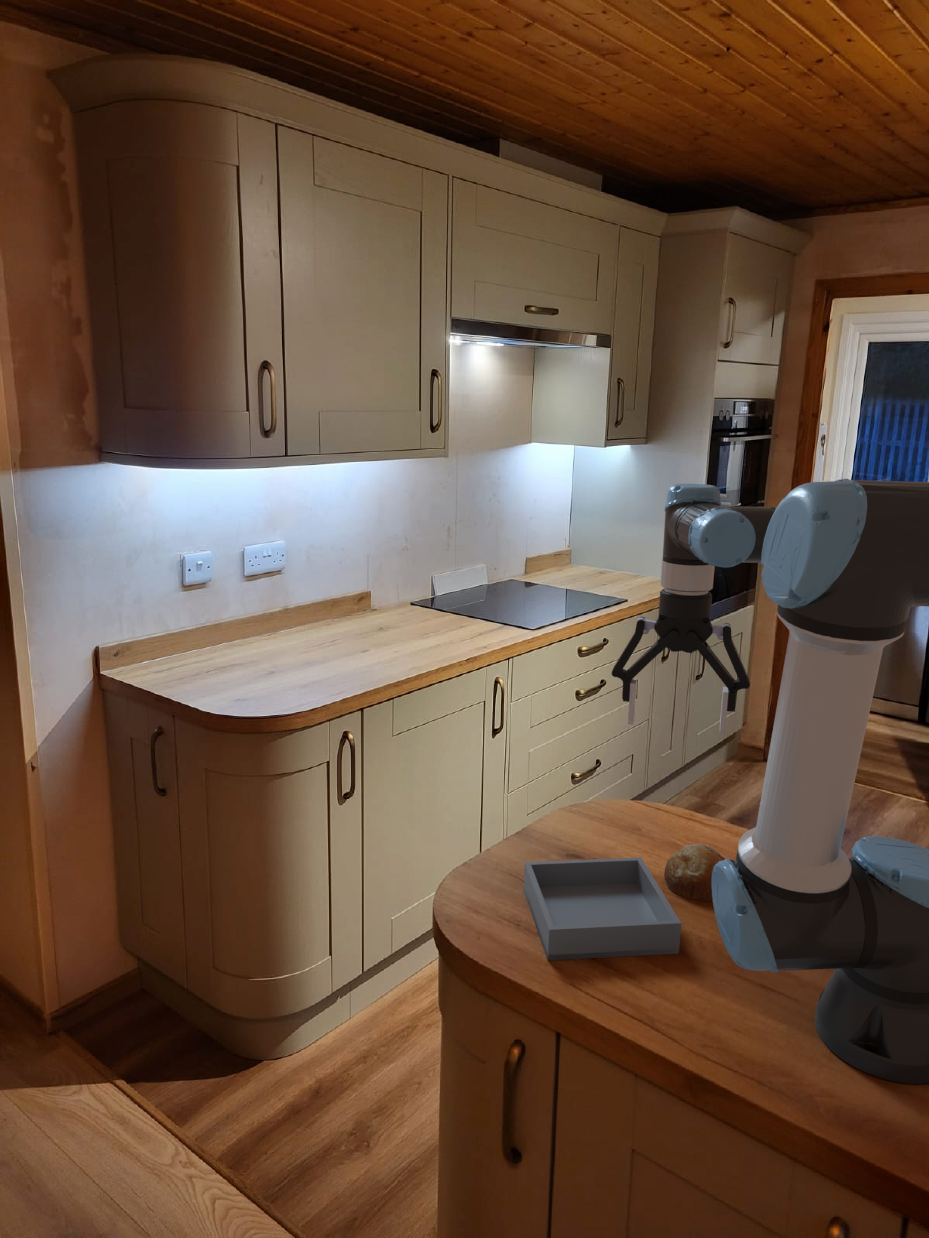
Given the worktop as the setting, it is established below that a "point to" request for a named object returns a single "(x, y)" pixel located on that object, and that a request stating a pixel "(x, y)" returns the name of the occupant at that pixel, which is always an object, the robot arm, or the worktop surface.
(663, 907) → the bread tray
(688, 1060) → the worktop surface
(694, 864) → the bread roll
